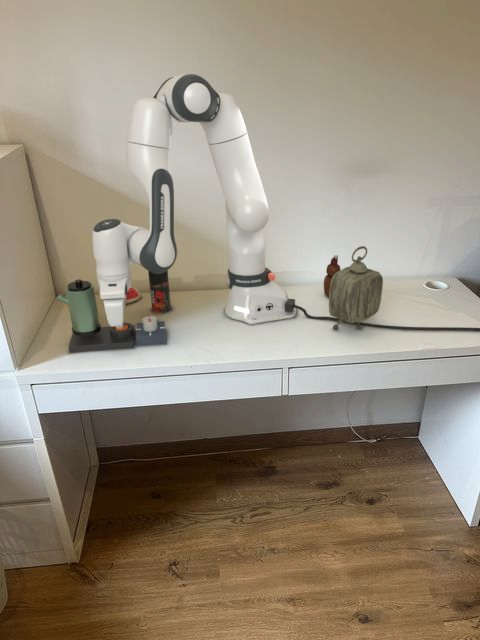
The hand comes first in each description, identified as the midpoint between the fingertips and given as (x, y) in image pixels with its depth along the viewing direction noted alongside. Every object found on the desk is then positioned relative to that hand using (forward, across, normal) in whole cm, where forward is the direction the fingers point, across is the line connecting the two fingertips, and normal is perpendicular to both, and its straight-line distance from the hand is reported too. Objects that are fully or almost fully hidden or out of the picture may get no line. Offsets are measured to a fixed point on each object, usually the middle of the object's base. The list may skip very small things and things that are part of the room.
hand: (120, 326), depth 154 cm
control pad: (+4, 0, +8) cm, 9 cm away
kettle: (0, -1, -11) cm, 11 cm away
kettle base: (+4, 0, -5) cm, 7 cm away
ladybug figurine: (+4, -28, 0) cm, 29 cm away
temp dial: (+1, 0, +8) cm, 8 cm away
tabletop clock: (+4, +2, +68) cm, 68 cm away
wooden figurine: (+4, -22, +68) cm, 72 cm away
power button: (+2, 0, 0) cm, 2 cm away
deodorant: (+4, -20, +11) cm, 23 cm away
